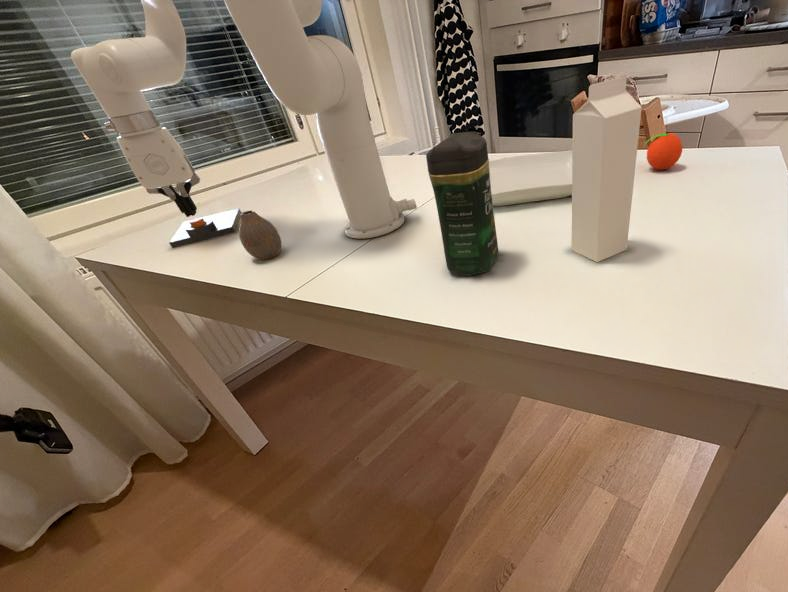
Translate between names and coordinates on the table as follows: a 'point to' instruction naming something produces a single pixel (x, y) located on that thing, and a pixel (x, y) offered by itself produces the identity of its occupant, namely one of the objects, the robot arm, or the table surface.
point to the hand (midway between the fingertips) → (191, 214)
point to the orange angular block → (197, 222)
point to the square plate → (531, 177)
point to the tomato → (664, 151)
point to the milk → (604, 169)
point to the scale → (207, 228)
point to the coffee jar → (464, 202)
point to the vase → (259, 236)
